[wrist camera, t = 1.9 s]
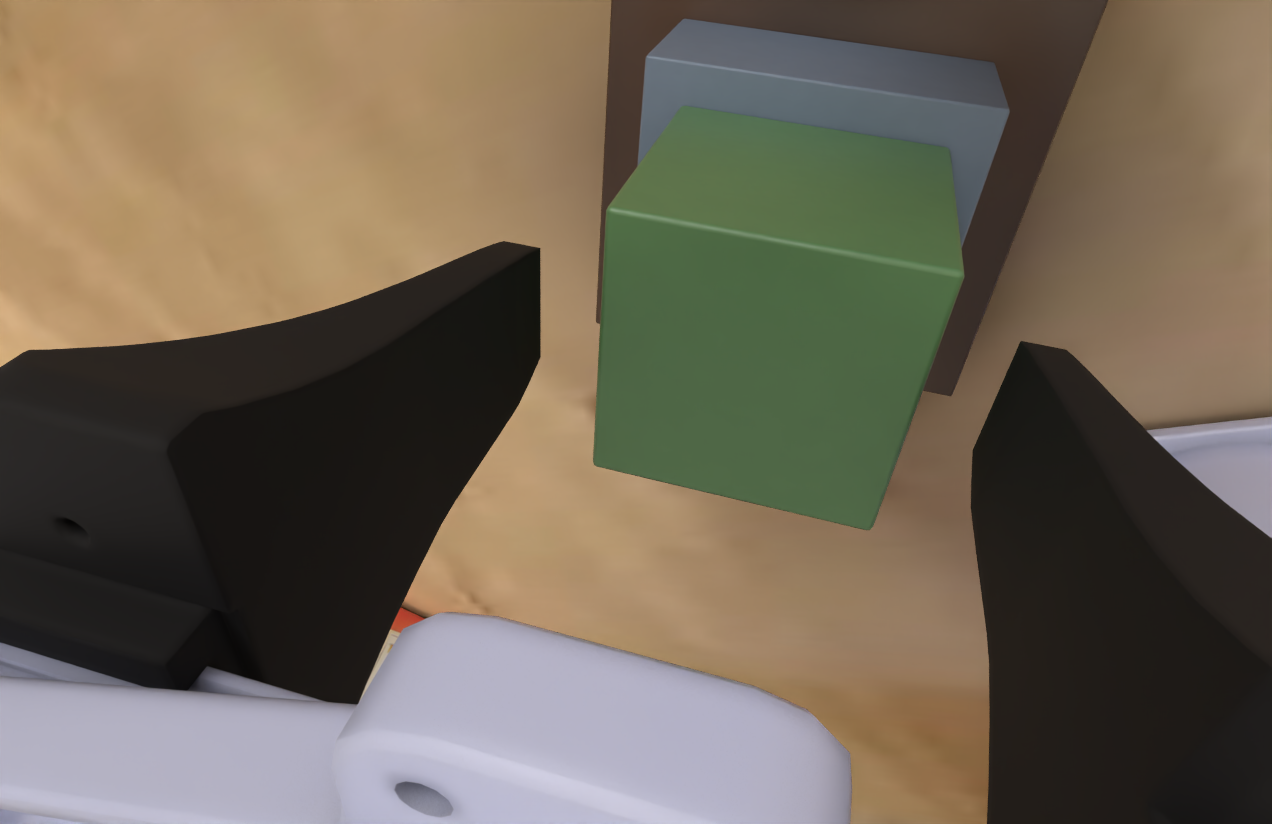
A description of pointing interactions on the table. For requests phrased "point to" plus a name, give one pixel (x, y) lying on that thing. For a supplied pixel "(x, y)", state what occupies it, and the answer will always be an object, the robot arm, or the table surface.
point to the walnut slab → (910, 20)
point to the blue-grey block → (832, 92)
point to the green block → (773, 310)
